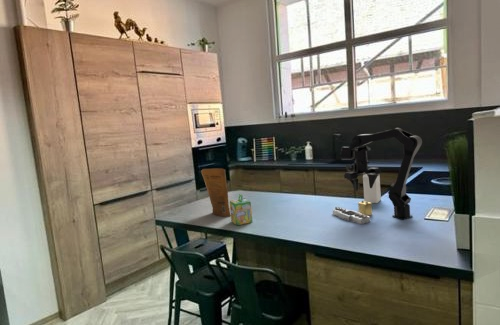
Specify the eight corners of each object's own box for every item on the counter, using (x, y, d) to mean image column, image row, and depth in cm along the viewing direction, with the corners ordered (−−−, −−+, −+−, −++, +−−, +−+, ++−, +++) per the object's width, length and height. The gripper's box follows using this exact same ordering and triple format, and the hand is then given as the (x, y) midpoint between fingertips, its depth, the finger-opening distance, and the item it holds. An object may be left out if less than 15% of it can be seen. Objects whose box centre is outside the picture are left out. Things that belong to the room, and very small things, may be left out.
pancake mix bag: (226, 218, 188) (220, 169, 184) (205, 214, 202) (199, 168, 198) (235, 215, 193) (229, 167, 189) (214, 211, 206) (208, 166, 203)
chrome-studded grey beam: (372, 221, 158) (372, 214, 158) (360, 225, 156) (359, 218, 155) (342, 211, 179) (341, 205, 178) (330, 214, 176) (330, 208, 175)
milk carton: (377, 203, 187) (375, 169, 184) (364, 202, 191) (362, 169, 189) (380, 200, 192) (379, 167, 190) (368, 199, 197) (366, 167, 194)
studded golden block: (372, 214, 169) (371, 201, 168) (365, 216, 168) (365, 203, 167) (365, 212, 174) (364, 199, 173) (358, 213, 172) (358, 201, 172)
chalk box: (231, 221, 182) (228, 194, 180) (247, 218, 185) (244, 192, 183) (236, 226, 173) (233, 198, 171) (253, 222, 176) (250, 195, 174)
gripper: (365, 156, 181) (367, 184, 182) (336, 161, 174) (338, 190, 176) (380, 157, 170) (382, 187, 172) (350, 162, 164) (352, 194, 166)
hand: (363, 189), depth 172 cm, fingers open, 9 cm apart
